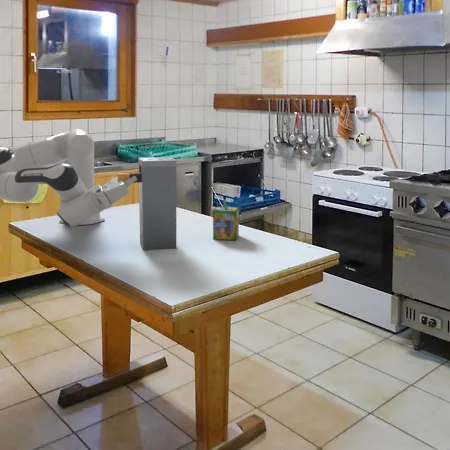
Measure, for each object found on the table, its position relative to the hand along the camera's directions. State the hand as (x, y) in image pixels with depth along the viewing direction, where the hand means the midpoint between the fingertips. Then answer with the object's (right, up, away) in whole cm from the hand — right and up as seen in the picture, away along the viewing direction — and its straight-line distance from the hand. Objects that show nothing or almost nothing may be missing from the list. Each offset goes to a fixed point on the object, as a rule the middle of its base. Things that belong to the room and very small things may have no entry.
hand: (135, 176), depth 206 cm
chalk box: (+32, -22, +22) cm, 45 cm away
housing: (+7, -25, +8) cm, 27 cm away
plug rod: (+3, -2, +1) cm, 3 cm away
